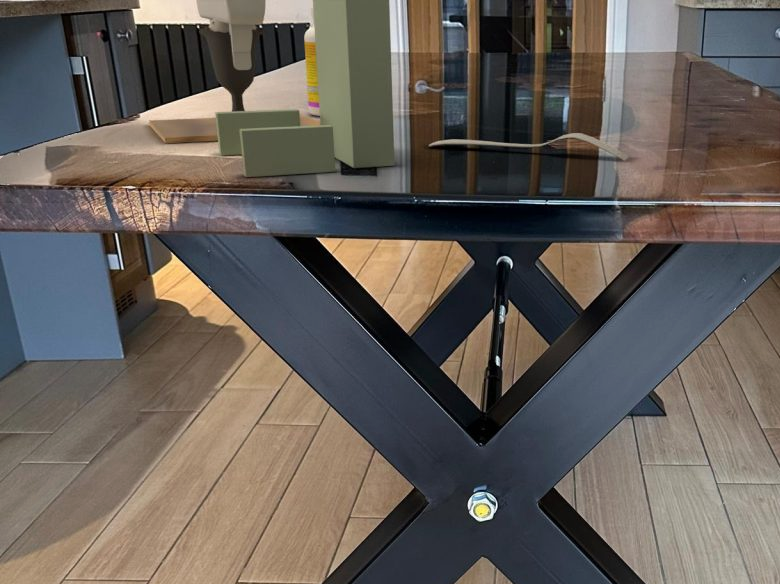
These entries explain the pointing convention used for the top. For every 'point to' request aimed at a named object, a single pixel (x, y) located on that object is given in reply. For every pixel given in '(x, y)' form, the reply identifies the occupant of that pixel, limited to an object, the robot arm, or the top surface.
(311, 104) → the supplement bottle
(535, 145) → the fork
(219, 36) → the dark grey goblet
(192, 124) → the cork mat
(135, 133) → the top surface
